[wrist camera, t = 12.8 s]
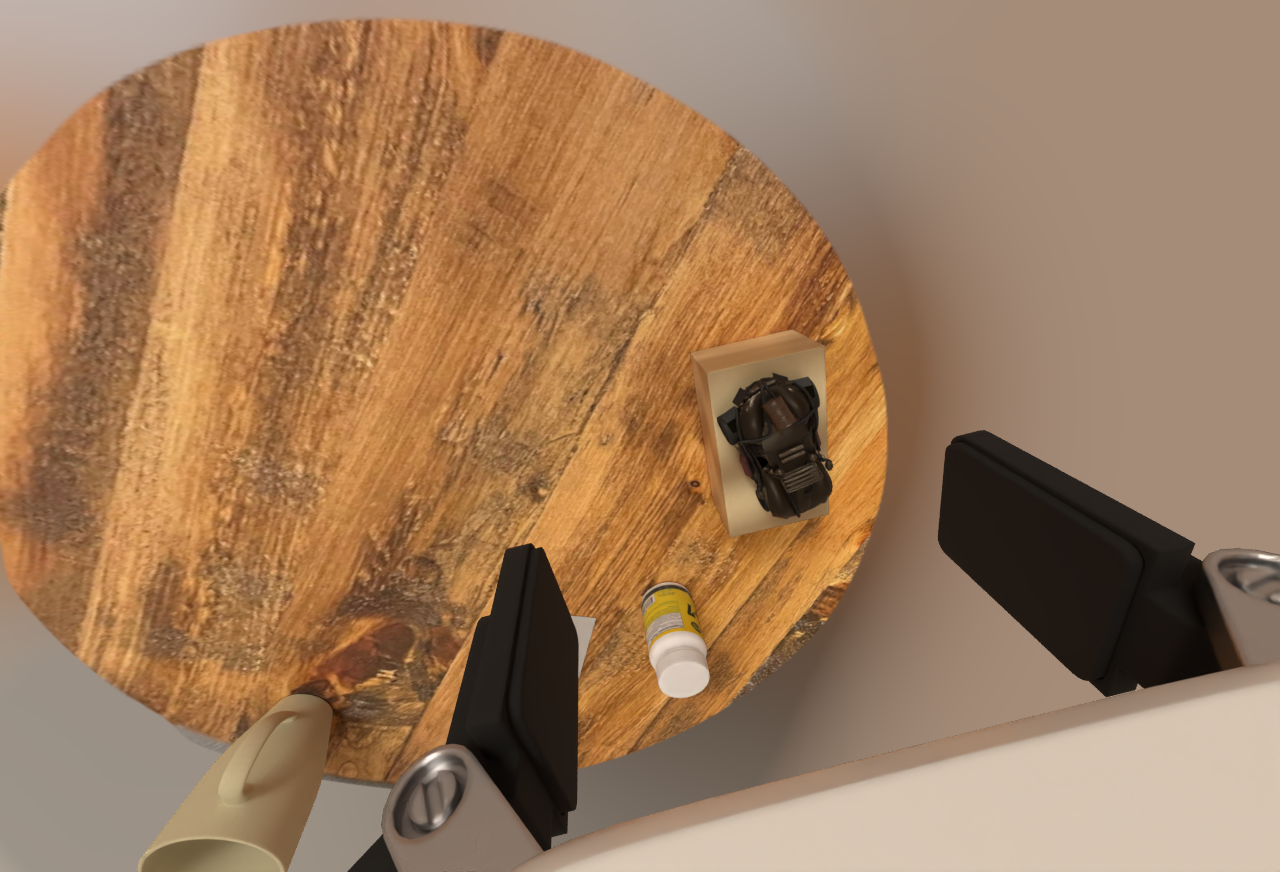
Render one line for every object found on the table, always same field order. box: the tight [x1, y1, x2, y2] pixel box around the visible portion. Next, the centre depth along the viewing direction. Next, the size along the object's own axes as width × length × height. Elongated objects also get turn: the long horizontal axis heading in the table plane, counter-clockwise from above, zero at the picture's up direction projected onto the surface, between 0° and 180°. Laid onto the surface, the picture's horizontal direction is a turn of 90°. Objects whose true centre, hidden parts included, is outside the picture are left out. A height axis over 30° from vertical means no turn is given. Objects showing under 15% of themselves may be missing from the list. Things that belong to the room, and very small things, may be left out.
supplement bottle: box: [641, 582, 710, 698], centre depth 39 cm, size 5×5×8 cm
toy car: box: [717, 373, 833, 519], centre depth 30 cm, size 6×12×4 cm, turn 24°
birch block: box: [690, 330, 829, 538], centre depth 34 cm, size 13×8×5 cm, turn 11°
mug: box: [138, 694, 333, 872], centre depth 38 cm, size 11×10×12 cm
